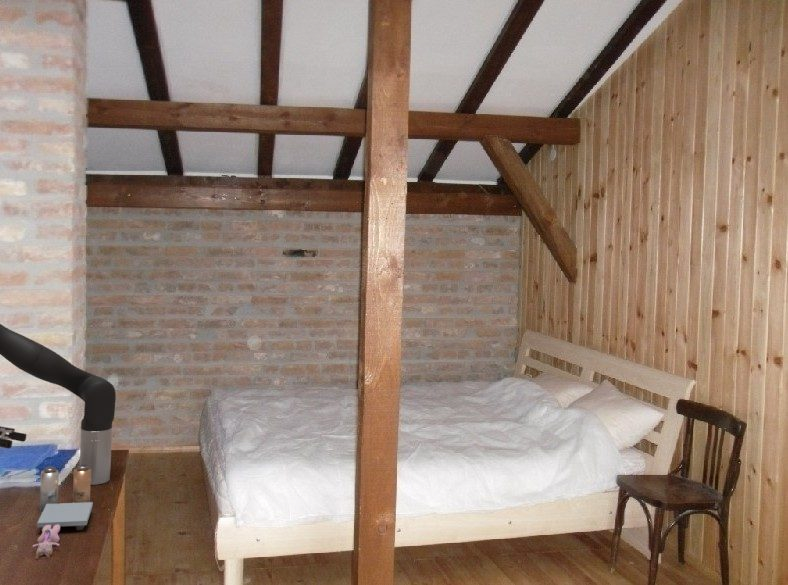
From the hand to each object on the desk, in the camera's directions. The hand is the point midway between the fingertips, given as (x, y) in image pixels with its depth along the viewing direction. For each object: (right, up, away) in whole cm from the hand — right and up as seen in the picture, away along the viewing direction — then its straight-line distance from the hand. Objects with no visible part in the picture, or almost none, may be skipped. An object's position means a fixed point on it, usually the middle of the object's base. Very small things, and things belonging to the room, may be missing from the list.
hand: (18, 441), depth 205 cm
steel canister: (+8, -20, +1) cm, 21 cm away
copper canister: (+16, -20, +5) cm, 26 cm away
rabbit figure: (+19, -22, -23) cm, 37 cm away
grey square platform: (+17, -21, -8) cm, 28 cm away
